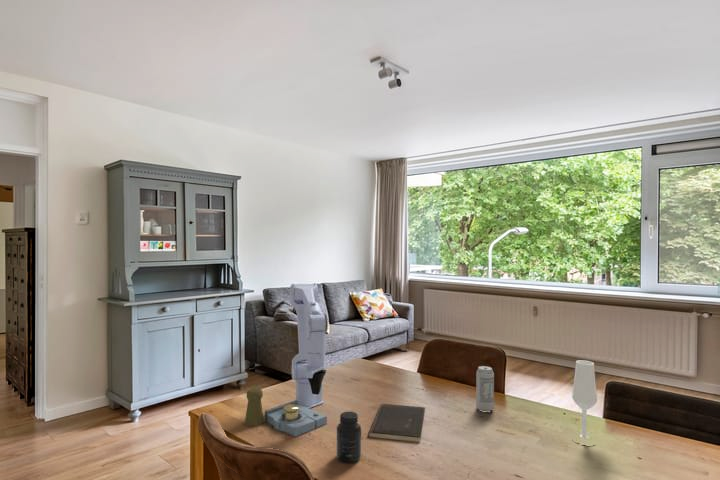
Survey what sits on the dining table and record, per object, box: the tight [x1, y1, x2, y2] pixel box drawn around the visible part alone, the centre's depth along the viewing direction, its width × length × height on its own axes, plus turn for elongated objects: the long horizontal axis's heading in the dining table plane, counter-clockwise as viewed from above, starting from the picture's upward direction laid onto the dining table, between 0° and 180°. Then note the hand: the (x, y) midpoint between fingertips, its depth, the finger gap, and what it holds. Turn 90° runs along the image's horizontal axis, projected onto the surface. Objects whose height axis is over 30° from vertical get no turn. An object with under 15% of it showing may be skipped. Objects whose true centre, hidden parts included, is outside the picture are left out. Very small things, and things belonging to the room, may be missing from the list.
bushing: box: [284, 404, 299, 421], centre depth 140 cm, size 5×5×6 cm
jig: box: [264, 399, 328, 437], centre depth 142 cm, size 14×16×4 cm
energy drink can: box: [475, 365, 495, 411], centre depth 154 cm, size 6×6×15 cm
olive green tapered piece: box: [244, 387, 265, 428], centre depth 142 cm, size 6×6×11 cm
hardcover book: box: [367, 403, 426, 443], centre depth 142 cm, size 16×23×2 cm
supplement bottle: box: [336, 411, 362, 464], centre depth 120 cm, size 7×7×12 cm
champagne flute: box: [571, 359, 598, 438], centre depth 131 cm, size 7×7×24 cm
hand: (315, 393), depth 140 cm, fingers closed
